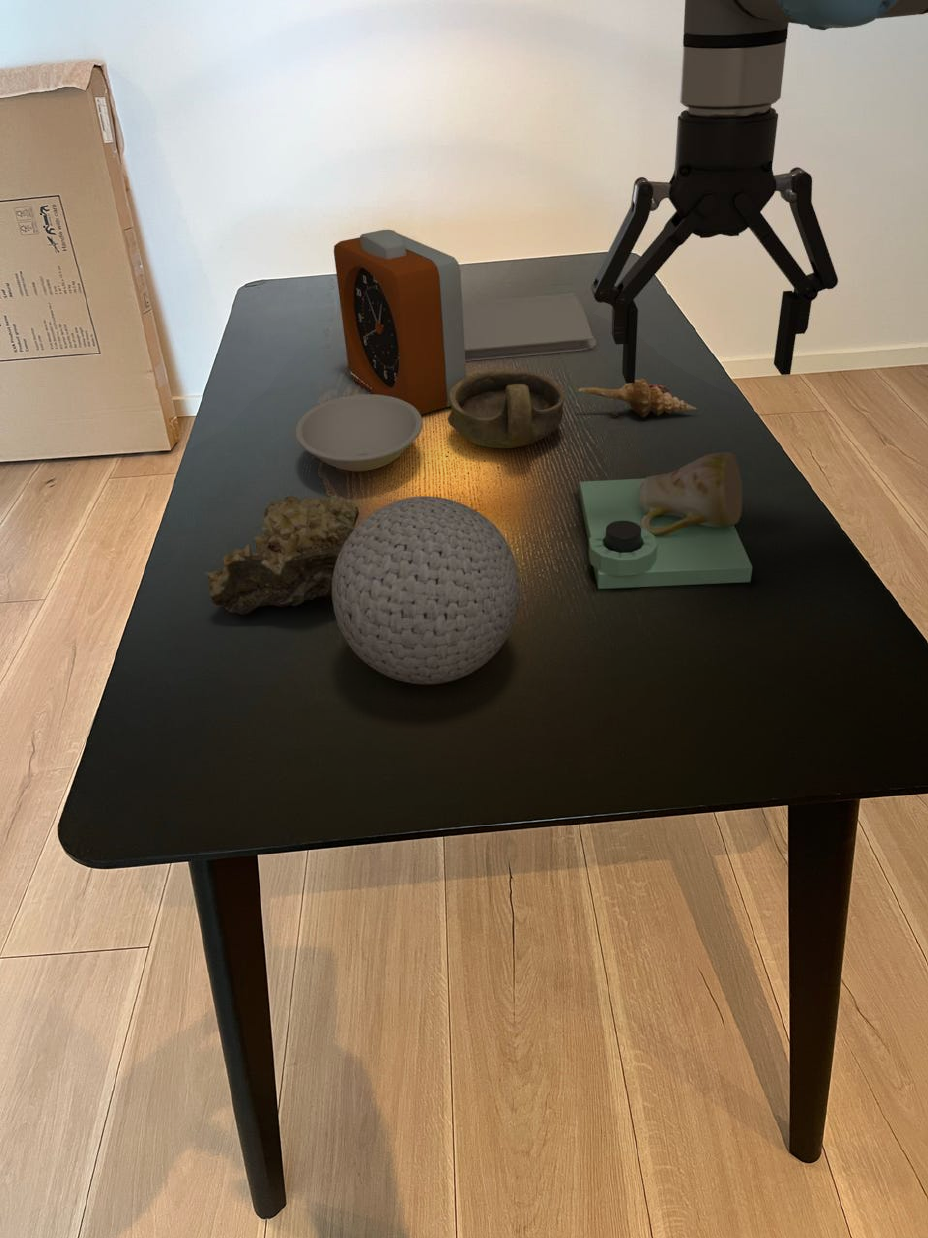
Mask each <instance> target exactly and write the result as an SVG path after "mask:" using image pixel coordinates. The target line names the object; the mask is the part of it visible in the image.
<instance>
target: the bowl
mask: <svg viewBox="0 0 928 1238" xmlns="http://www.w3.org/2000/svg"><path fill="white" fill-rule="evenodd" d="M449 400H450V403H451V405H452V406H451V410H450V413H449V415H448V418H447V421H448V424H449V425H450V426H451V427H452V428H453V429H454V430H455V431H456V433H457V434H458V435H460V437H462V438H463V439H465V440H467V441H469V442H471V443H472V444H476V445H478V446H481V447H485V448H492V449H494V448H495V449H515V448H521V447H526V446H530V445H533V444H535V443H537V442H538V441H540V440H543V439H544V438H546V437H548V436H549V435H551V434H552V433H553V432H554V431H555V430H556V429H557V428H559V426H560V424H561V422H562V419H563V417H564V416H563V414H564V409H563V406H564V403H565V392H564V391H563V388H562V387H561V386H560V385H559V384H558V383H557V382H556V381H555V380H553V379H551V378H549V377H546V376H545V375H541V374H538V373H535V372H532V371H525V370H516V369H515V370H514V369H513V370H512V369H511V370H510V369H501V370H486V371H481V372H475V373H473V374H470V375H466V378H464V379H463V380H461V381H460V382H458V383H457V384H456V385H455V386H454V387H452V388H451V390H450V392H449Z"/></svg>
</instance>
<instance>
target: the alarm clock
mask: <svg viewBox="0 0 928 1238" xmlns="http://www.w3.org/2000/svg"><path fill="white" fill-rule="evenodd" d="M333 257H334V266H335V272H336V273H335V274H336V280H337V289H338V297H339V304H340V313H341V320H342V327H343V329H342V330H343V335H344V343H345V352H346V358H347V366H348V371H349V370H350V371H351V372H352V373H353V374H355V375H356V376H357V377H358V378H359V379H360V380H361V381H363V382H364V383H365V384H364V383H363V382H361V381H360V380H359V379H357V378H356V377H354V376H353V375H351V374H350V376H351V378H352V379H353V380H354V381H355V382H356V383H358V384H359V385H360V386H362V387H364V388H365V389H366V390H368V391H369V392H371V394H377V395H385V396H390V397H394V398H398V399H401V400H403V401H405V402H407V403H409V404H411V405H412V406H413V407H415V408H416V409H417V410H418V412H419V413H420V415H421V416H422V415H425V414H427V413H431V412H434V411H437V410H442V409H445V408H448V407H452V405H451V403H450V400H449V392H450V390H451V388H452V387H454V386H455V385H456V384H457V383H458V382H460V381H461V380H463V379H464V378H466V377H467V367H466V361H465V345H464V327H463V309H462V303H463V295H462V294H463V291H462V275H461V267H460V264H459V261H458V260H457V259H456V258H455V257H454V256H452V255H450V254H447V253H445V252H443V251H440V250H438V249H435V248H433V247H431V246H428V245H426V244H424V243H422V242H419V241H417V240H414V239H412V238H410V237H408V236H405V235H403V234H401V233H398V232H396V231H395V230H393V229H381V230H380V229H379V230H377V231H376V230H375V231H371V232H365V233H362V234H360V236H359V237H354V238H349V239H344V240H340V241H338V242H337V243H336V244H334V246H333ZM350 371H349V372H350ZM366 384H367V385H368V386H369V387H368V386H367V385H366ZM370 387H371V388H372V389H371V388H370Z"/></svg>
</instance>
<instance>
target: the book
mask: <svg viewBox="0 0 928 1238" xmlns="http://www.w3.org/2000/svg"><path fill="white" fill-rule="evenodd" d="M462 309H463V327H464V345H465V362H471V361H483V360H494V359H506V358H514V357H515V358H517V357H525V356H526V357H527V356H539V355H550V354H559V353H560V354H561V353H571V352H581V351H588V350H591V349H593V348H595V347H596V345H597V340H596V339H595V337H594V335H593V334H592V331H591V327H590V324H589V321H588V318H587V316H586V313H585V311H584V308H583V306H582V304H581V302H580V300H579V297H578V296H577V294H576V293H575V292H570V293H558V294H547V295H535V296H523V297H522V296H521V297H511V298H499V299H488V300H477V301H465V302H464V301H463V302H462Z"/></svg>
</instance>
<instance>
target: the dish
mask: <svg viewBox="0 0 928 1238" xmlns="http://www.w3.org/2000/svg"><path fill="white" fill-rule="evenodd" d="M422 429H423V418H422V414H421V415H420V413H419V412H418V410H417V409H416V408H415V407H413V406H412V405H411V404H409V403H407V402H405V401H403V400H401V399H398V398H394V397H390V396H385V395H377V394H374V393H361V394H360V393H359V394H350V395H344V396H340V397H336V398H335V397H334V398H332V399H329V400H326V401H324V402H322V403H319V404H318V405H315V406H314V407H312V408H310V409H309V410H307V411H306V412H305V413H304V414H303V415H302V416H301V417H300V419H299V420H298V422H297V424H296V426H295V438H296V440H297V443H298V444H299V445H300V447H302V448H303V449H304V450H305V451H307V452H308V453H310V454H312V455H314V456H315V457H316V458H318V459H319V460H320V461H322V462H324V463H325V464H327V465H329V466H331V467H334V468H337V469H339V470H343V471H348V472H366V471H371V470H376V469H379V468H381V467H384V466H387V465H388V464H390V463H392V462H393V461H395V460H396V459H398V458H399V457H400V456H401V455H402V454H404V452H405V451H406V450H407V449H408V448H409V446H410V445H412V444H413V443H414V442H415V441H416V440H417V439H418V437H419V436H420V434H421V433H422Z"/></svg>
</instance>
